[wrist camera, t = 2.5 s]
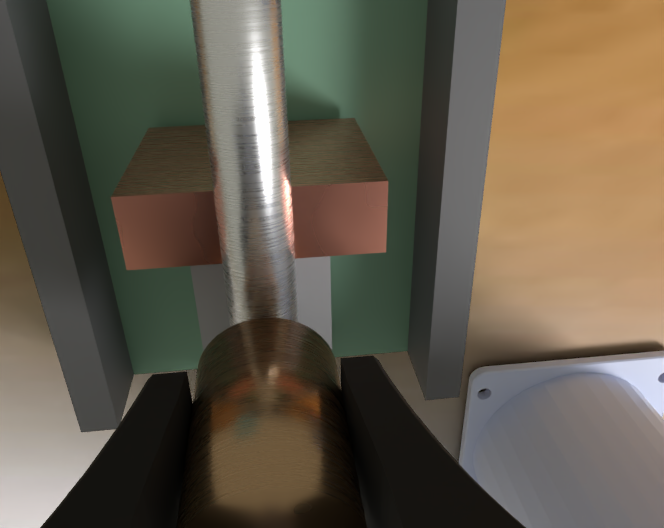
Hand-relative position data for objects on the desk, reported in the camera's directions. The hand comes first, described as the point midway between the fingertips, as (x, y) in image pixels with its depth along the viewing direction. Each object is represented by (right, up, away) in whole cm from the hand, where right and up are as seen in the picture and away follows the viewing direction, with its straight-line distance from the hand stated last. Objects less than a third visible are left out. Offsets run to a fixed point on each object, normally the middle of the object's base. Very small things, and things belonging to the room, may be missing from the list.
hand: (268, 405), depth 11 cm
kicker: (-1, +8, +2) cm, 8 cm away
